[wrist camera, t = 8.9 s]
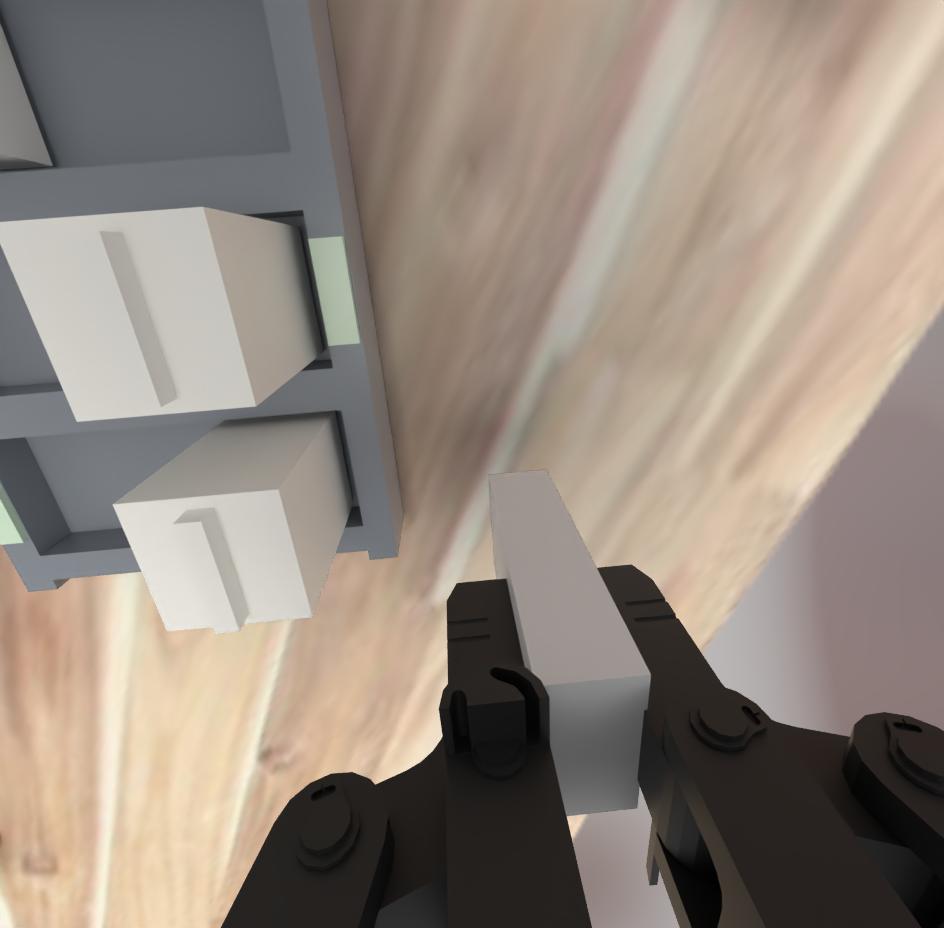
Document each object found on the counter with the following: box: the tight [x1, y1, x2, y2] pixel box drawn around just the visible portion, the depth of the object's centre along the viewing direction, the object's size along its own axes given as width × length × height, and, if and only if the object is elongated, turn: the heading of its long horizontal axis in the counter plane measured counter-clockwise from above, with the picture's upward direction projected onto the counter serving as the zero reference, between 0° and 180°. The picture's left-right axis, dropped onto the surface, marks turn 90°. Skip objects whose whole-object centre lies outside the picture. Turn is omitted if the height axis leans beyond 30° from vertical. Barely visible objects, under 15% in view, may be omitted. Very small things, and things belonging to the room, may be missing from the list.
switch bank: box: [0, 0, 404, 592], centre depth 14 cm, size 18×13×3 cm
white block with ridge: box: [0, 207, 323, 422], centre depth 11 cm, size 4×4×7 cm
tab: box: [112, 411, 353, 634], centre depth 14 cm, size 4×4×7 cm
